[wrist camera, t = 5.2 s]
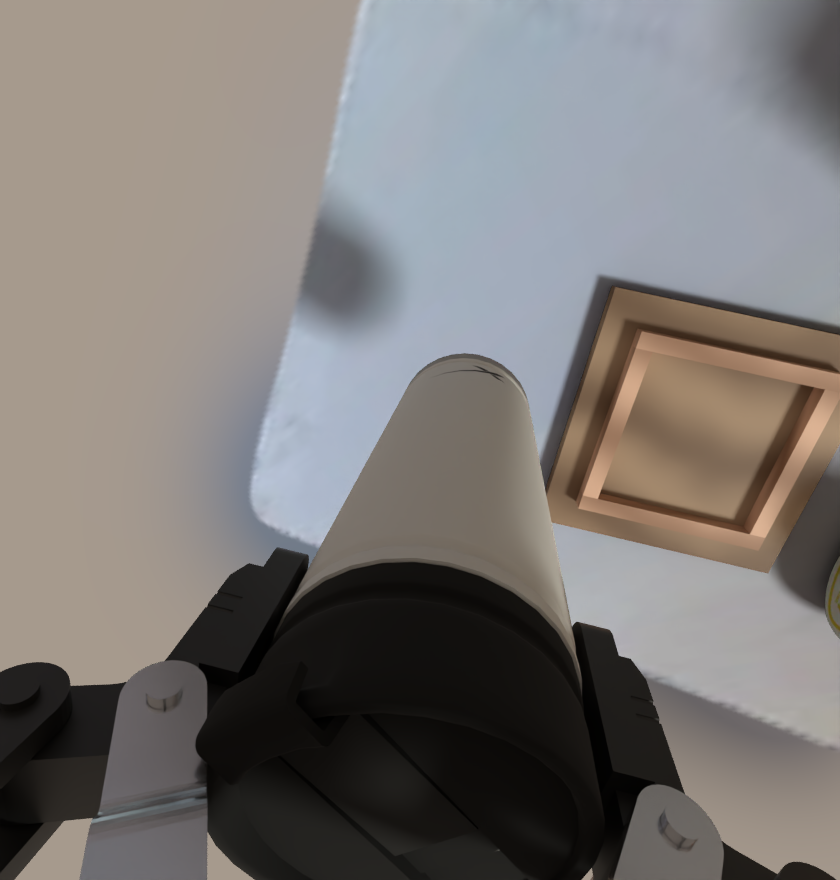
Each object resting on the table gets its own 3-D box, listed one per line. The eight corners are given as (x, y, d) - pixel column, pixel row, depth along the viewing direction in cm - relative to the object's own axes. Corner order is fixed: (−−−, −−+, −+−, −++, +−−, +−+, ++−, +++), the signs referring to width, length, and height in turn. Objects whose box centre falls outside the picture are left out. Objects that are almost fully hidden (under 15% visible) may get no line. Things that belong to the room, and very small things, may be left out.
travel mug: (479, 319, 24) (429, 623, 6) (553, 432, 25) (707, 962, 7) (373, 391, 26) (77, 790, 8) (448, 492, 27) (355, 1025, 9)
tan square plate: (611, 285, 31) (619, 289, 29) (881, 343, 31) (906, 350, 29) (537, 512, 37) (540, 526, 36) (761, 564, 37) (775, 582, 35)
